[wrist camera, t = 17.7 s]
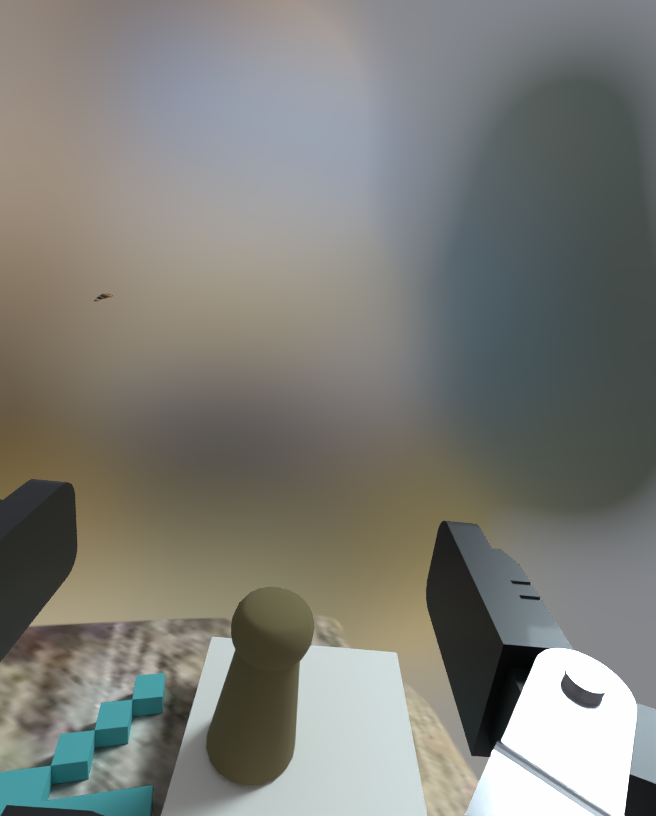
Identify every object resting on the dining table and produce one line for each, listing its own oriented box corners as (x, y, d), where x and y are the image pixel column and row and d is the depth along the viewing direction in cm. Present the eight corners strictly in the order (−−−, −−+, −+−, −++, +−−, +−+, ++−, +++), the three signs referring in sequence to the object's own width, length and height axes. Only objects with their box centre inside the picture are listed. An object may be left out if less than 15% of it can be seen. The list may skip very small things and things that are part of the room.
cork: (254, 807, 29) (285, 656, 26) (186, 742, 32) (207, 601, 29) (312, 737, 34) (343, 605, 31) (248, 687, 37) (271, 562, 34)
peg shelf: (147, 909, 27) (147, 862, 26) (210, 673, 42) (212, 636, 41) (426, 925, 28) (439, 880, 27) (389, 687, 43) (396, 652, 42)
